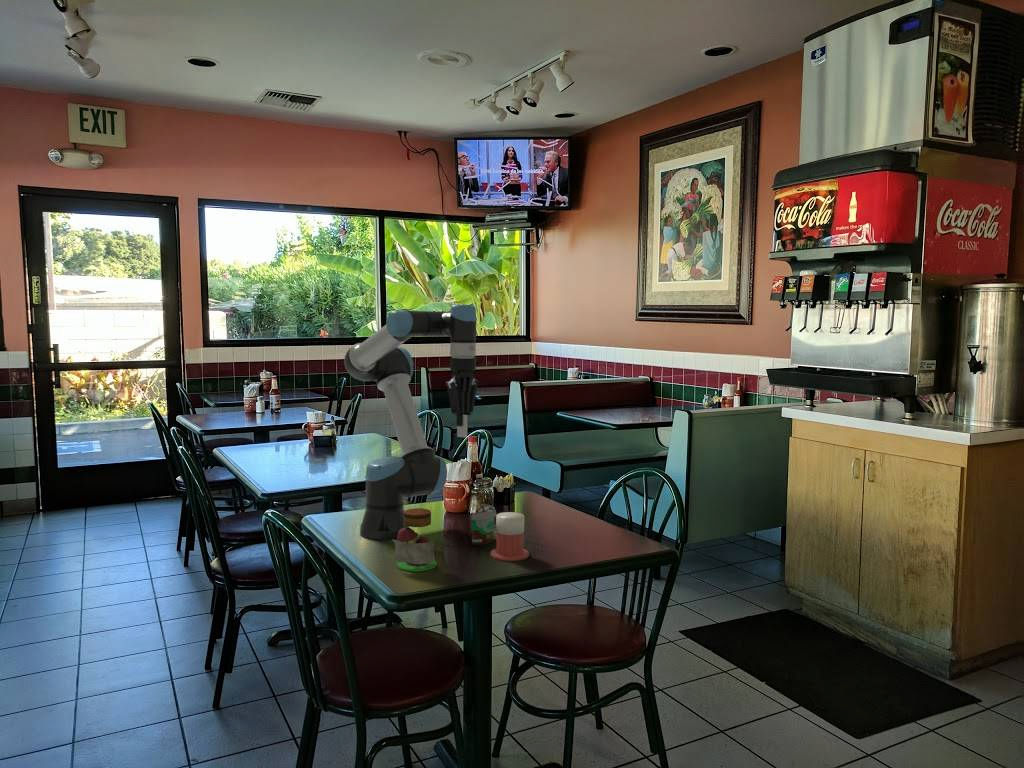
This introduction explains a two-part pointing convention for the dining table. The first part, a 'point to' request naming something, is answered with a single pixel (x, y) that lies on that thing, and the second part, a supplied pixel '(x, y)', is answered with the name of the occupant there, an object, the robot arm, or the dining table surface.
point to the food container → (483, 524)
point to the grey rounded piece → (510, 523)
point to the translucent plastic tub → (418, 552)
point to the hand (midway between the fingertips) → (462, 436)
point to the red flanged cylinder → (509, 548)
